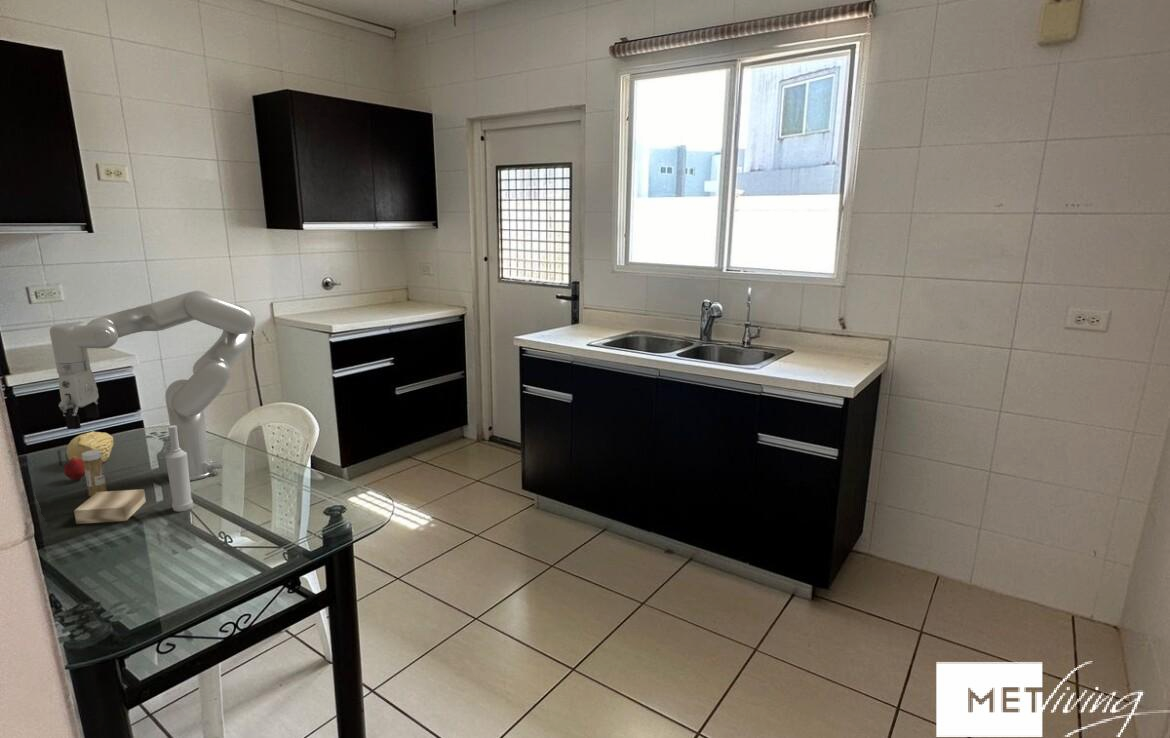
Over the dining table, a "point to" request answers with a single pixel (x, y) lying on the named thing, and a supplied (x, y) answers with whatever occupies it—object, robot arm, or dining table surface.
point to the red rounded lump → (74, 469)
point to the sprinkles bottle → (94, 471)
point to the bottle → (178, 474)
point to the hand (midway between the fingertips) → (83, 423)
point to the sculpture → (90, 445)
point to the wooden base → (110, 506)
